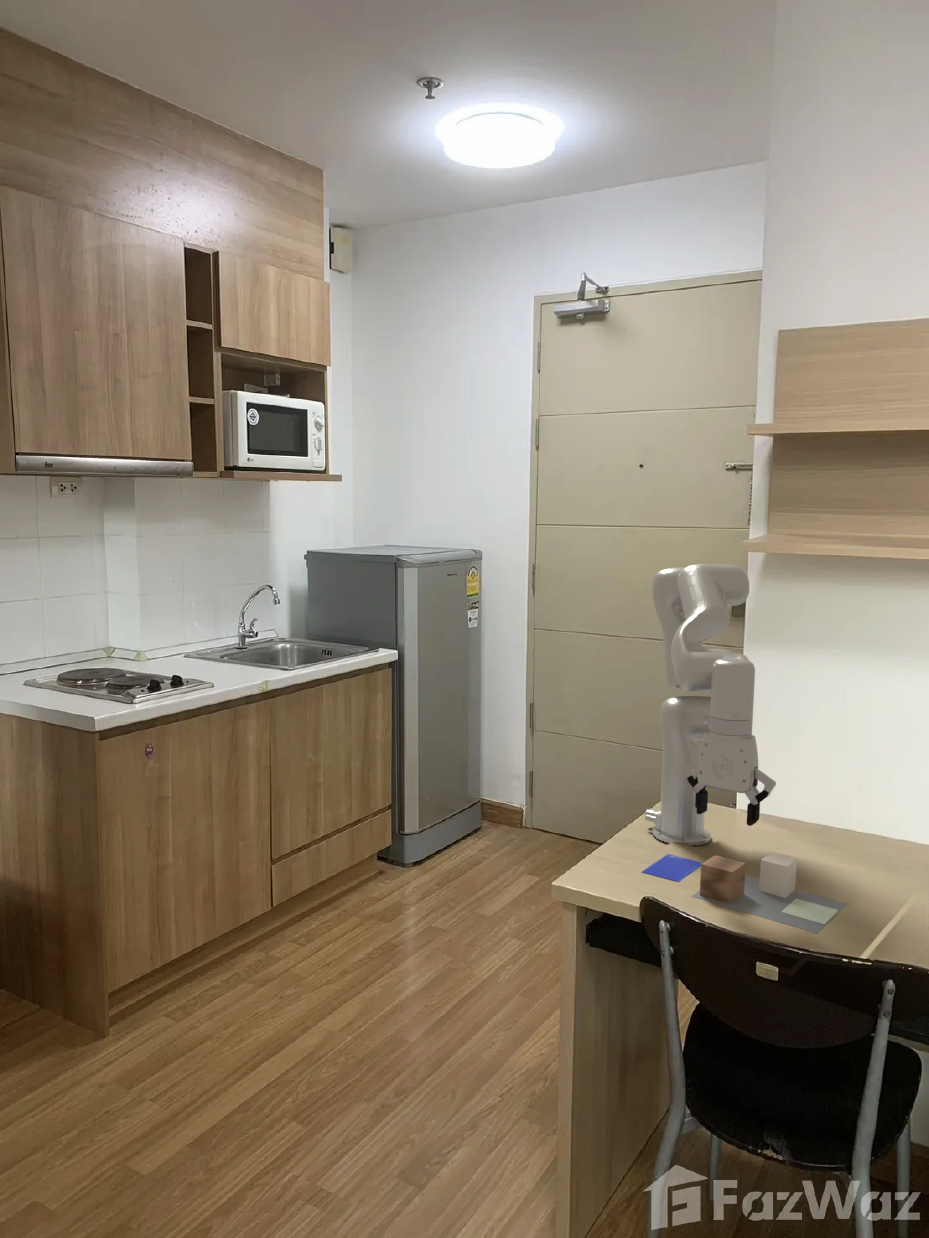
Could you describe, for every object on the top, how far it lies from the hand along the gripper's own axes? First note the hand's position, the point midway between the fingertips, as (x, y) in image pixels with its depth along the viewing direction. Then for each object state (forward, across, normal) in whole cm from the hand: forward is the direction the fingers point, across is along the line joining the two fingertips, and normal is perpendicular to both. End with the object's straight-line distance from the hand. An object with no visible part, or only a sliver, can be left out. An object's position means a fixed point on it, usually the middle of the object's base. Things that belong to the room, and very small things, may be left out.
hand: (726, 818), depth 170 cm
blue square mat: (+16, -13, +6) cm, 22 cm away
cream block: (+15, +7, +9) cm, 19 cm away
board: (+16, +7, +4) cm, 18 cm away
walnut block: (+15, 0, 0) cm, 15 cm away
